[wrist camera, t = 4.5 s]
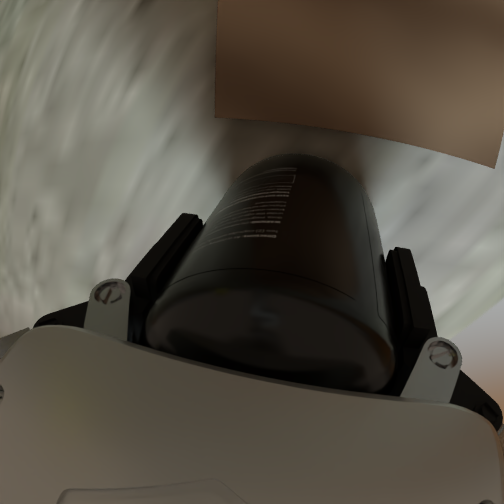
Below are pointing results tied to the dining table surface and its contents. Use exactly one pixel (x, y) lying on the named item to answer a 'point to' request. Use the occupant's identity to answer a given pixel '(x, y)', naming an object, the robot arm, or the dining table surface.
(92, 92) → the dining table surface
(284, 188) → the supplement bottle
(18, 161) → the dining table surface
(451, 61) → the walnut board
